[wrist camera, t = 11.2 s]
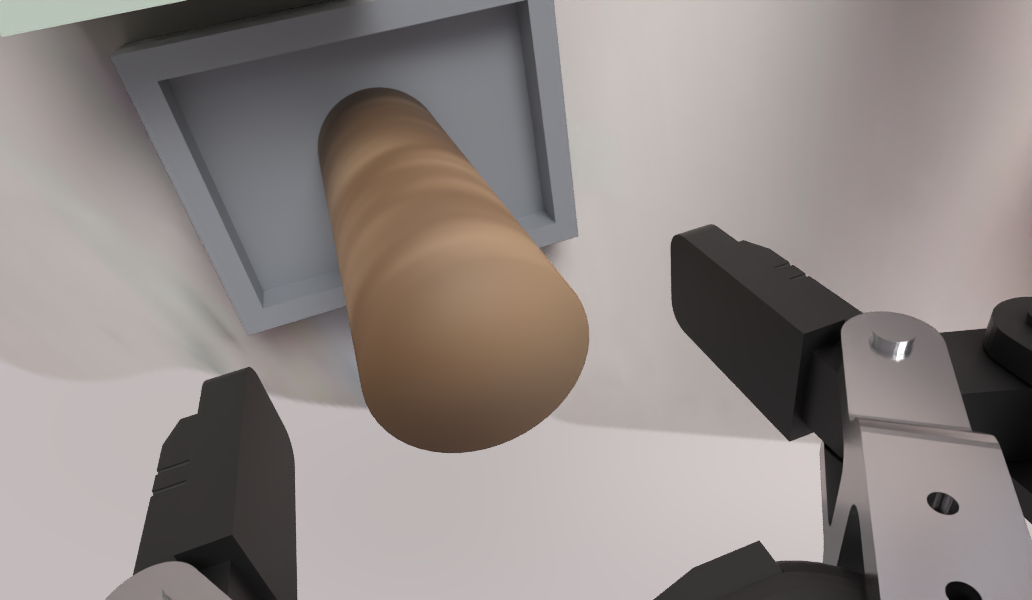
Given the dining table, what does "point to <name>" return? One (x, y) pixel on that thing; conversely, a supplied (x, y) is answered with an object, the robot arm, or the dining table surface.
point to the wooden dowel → (441, 283)
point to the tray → (307, 101)
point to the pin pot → (62, 12)
